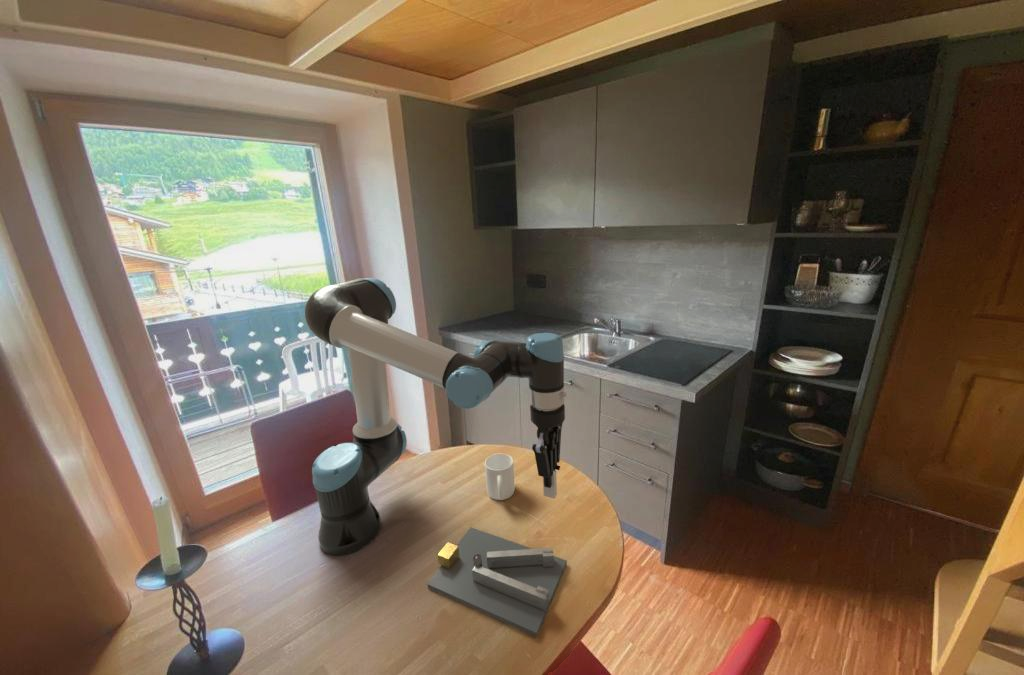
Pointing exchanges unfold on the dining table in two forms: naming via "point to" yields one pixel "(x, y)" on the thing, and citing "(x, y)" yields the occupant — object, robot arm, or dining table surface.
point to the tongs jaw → (520, 558)
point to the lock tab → (448, 555)
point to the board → (488, 600)
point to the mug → (499, 476)
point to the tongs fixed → (509, 585)
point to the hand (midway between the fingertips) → (550, 495)
